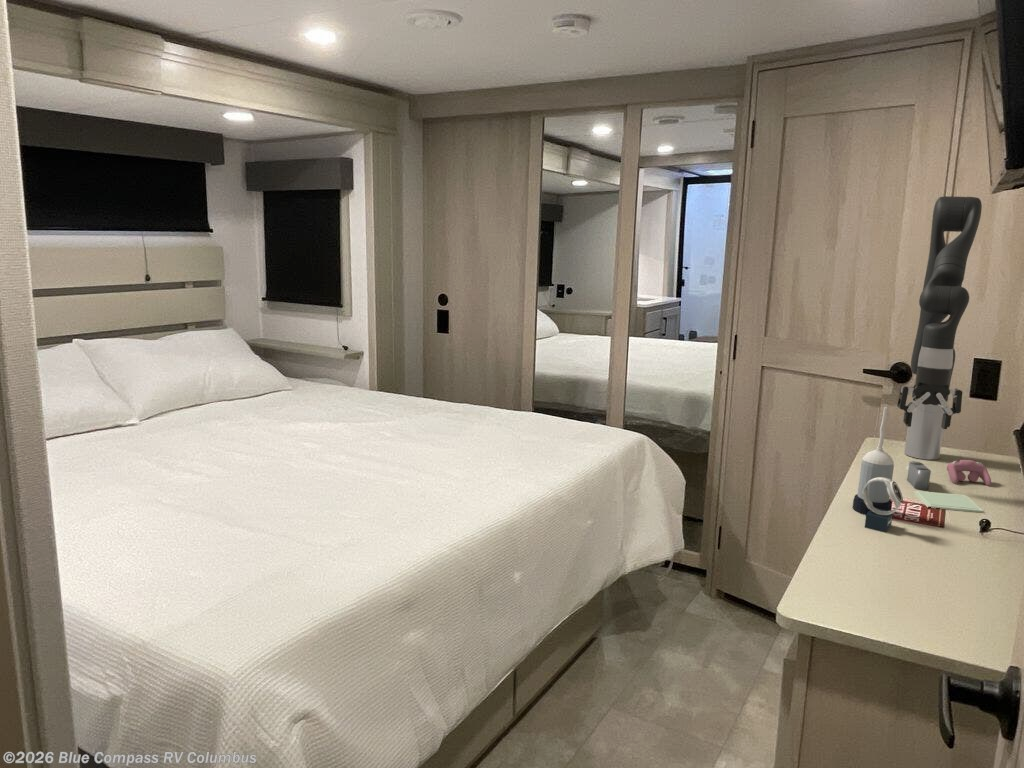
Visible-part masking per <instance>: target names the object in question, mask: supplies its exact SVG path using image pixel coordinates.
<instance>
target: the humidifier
mask: <svg viewBox="0 0 1024 768" xmlns="http://www.w3.org/2000/svg"><path fill="white" fill-rule="evenodd" d="M879 411H880V407H878V409H877V413H879ZM887 416H888V407H886V406H883V412H882V418H881V419H882V420H881V423H880V424H881V425H880V427H879V441H878V444H877V447H876V449H875V448H873V450H871V451H869V452H866V453H865V454H864V455H863V457H862V460H861V462H860V463H861V464H860V471H859V478H858V479H859V480H858V487H857V494H854V497H853V499H852V510H853V511H855V512H856V513H859V514H860V515H864V516H866V514H867V513H868V511H869V510H870V509H868V508H867V506H866V504H865V502H864V499H863V495H862V492H863V488H864V486H865V485H866V484H867V483H868V482H869V481H870V480H871V479H873V478H877V477H884V478H888V479H890V480H891V481H893V477H894V476H893V474H894V466H895V465H894V464H895V463H894V462H895V461H894V460H893V457H892V456H891V455H890V454H888V452H886V451H884V450H883V445H884V442H885V441H884V440H885V427H886V423H887ZM878 418H879V415H877V417H876V426H875V427H874V430H876V429H877V426H878V423H879V422H878ZM875 440H876V436H874V438H873V443H875ZM867 488H868V489H867V490H868V494H869V497H870V500H871V502H872V503H873V506H874V508H878V509H882V510H887V511H891V510H893V509H892V507H893V504H892V503H893V501H892V500H891V498H890V497H889V494H888V491H887V486H886V485H885V482H883V481H874V482H871V483H869V484H868V485H867Z"/></svg>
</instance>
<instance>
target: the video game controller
mask: <svg viewBox="0 0 1024 768" xmlns="http://www.w3.org/2000/svg"><path fill="white" fill-rule="evenodd" d="M946 471H947V472H948V473H947V474H948V476H949V479H950V481H951V482H952V484H954V485H957V484H958V482H963V481H965V480H966V479H968V481H969V482H970V483H975V482H977V481H978V480H979V478H980V479H981V480H982V482H983V483H984V484H985V486H987V487H989V486H991V484H992V479H991V476H990V474H989V471H988V469H987V467H986V466H985V465H984V464H983V463H982V462H980V461H974V460H971V459H959V460H953V461H952V462H949V463H947V465H946ZM964 472H969V473H968V474H967V476H966V474H965V473H964Z"/></svg>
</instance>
